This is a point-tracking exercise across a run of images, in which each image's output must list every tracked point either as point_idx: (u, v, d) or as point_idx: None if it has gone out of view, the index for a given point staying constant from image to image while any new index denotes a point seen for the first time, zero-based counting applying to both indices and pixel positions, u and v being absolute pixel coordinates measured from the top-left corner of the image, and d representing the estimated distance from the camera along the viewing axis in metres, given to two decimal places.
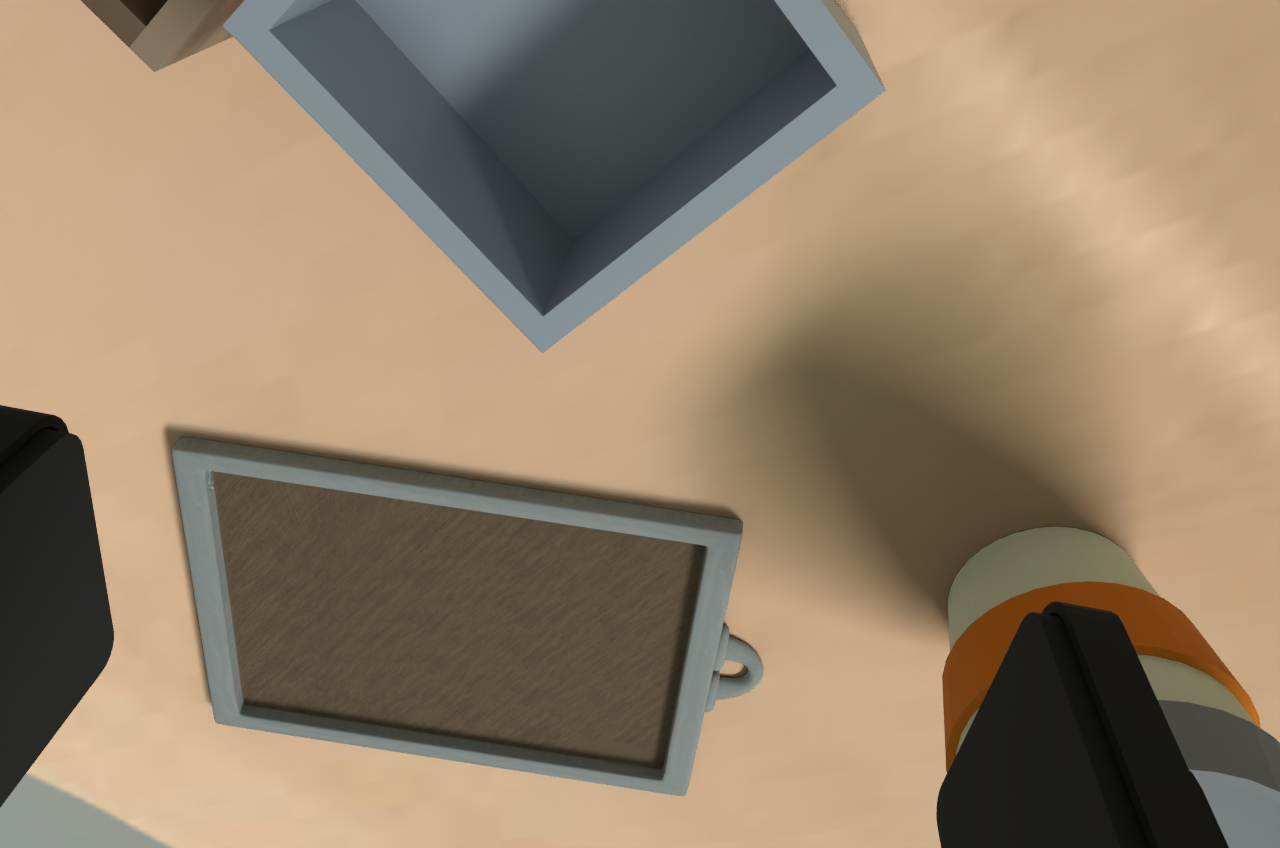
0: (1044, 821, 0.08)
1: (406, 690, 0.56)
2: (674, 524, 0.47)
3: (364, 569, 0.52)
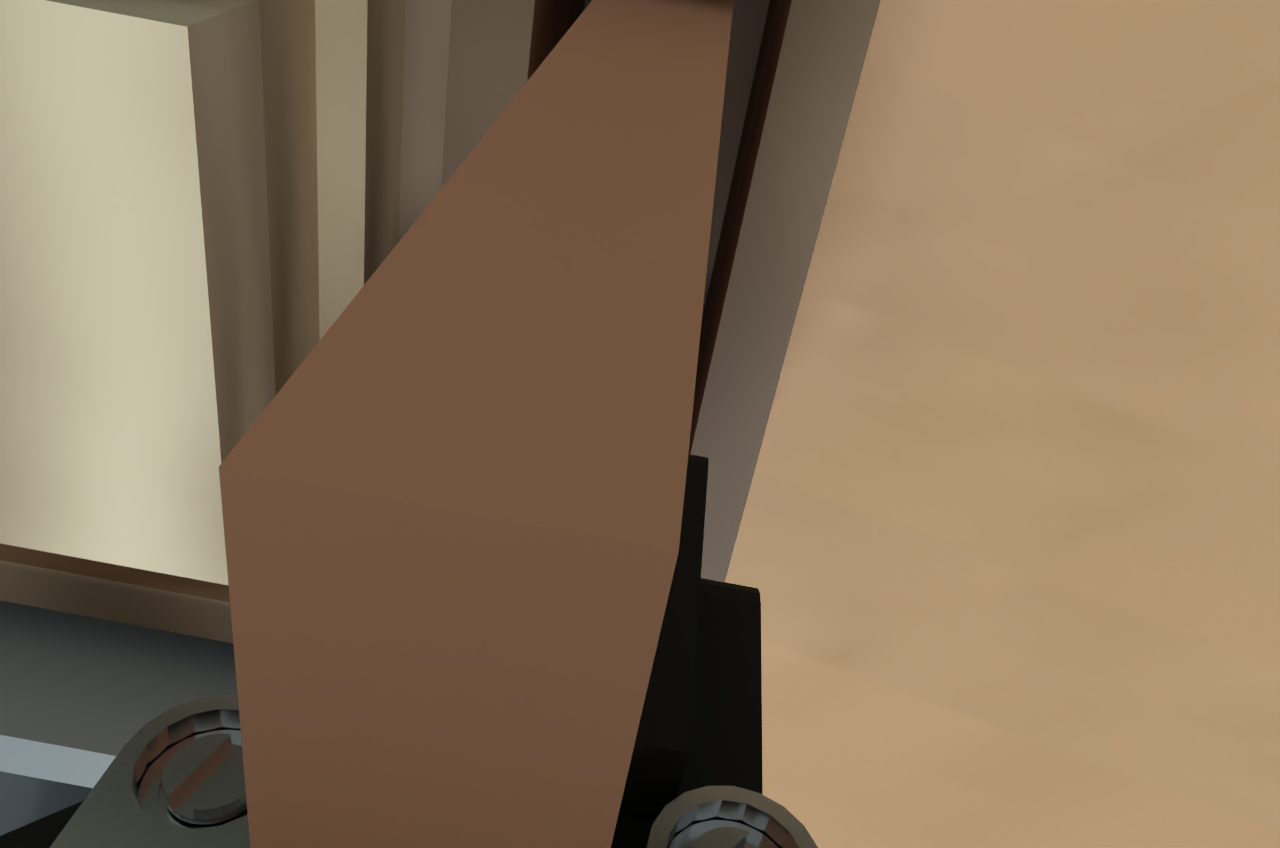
0: None
1: None
2: None
3: None
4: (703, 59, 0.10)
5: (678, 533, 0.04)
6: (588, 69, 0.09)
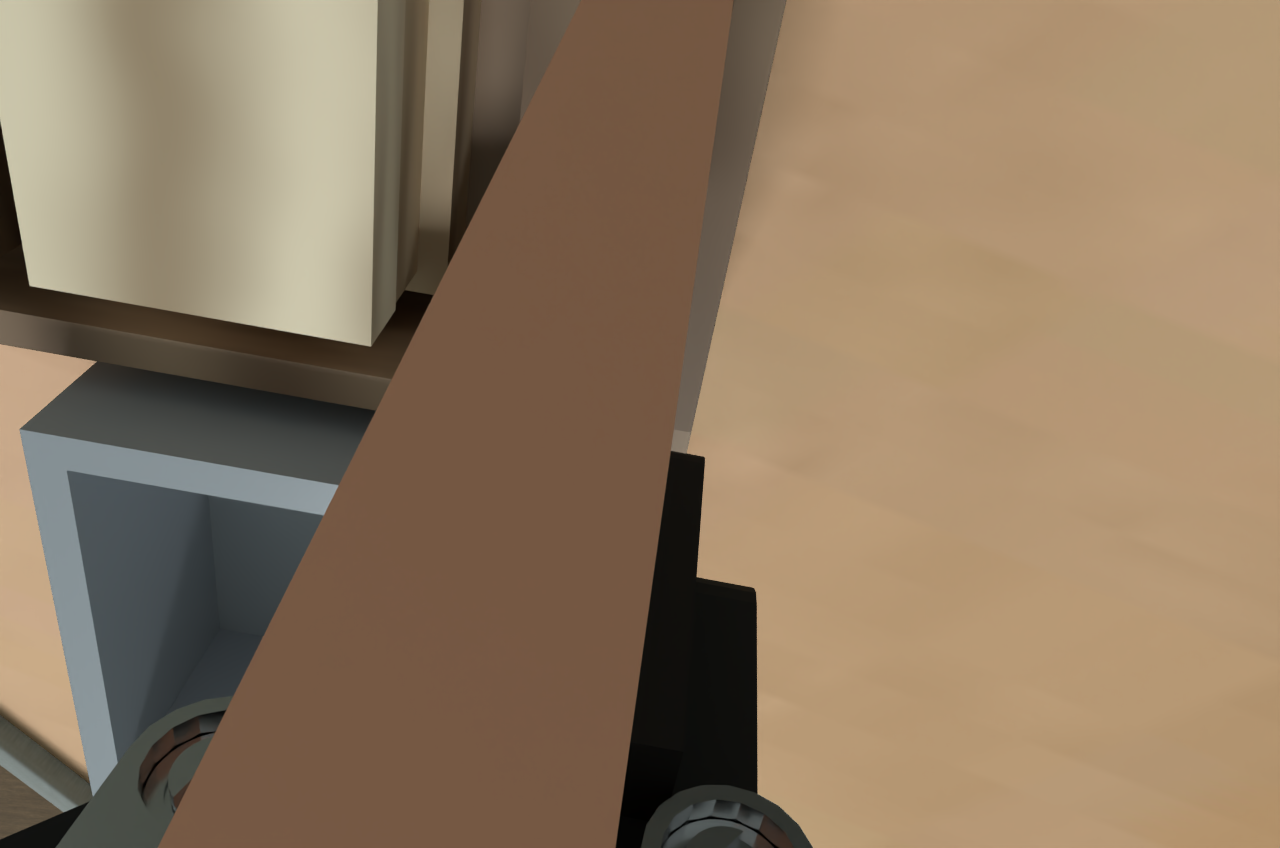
0: None
1: None
2: None
3: None
4: (687, 130, 0.09)
5: None
6: (550, 173, 0.08)
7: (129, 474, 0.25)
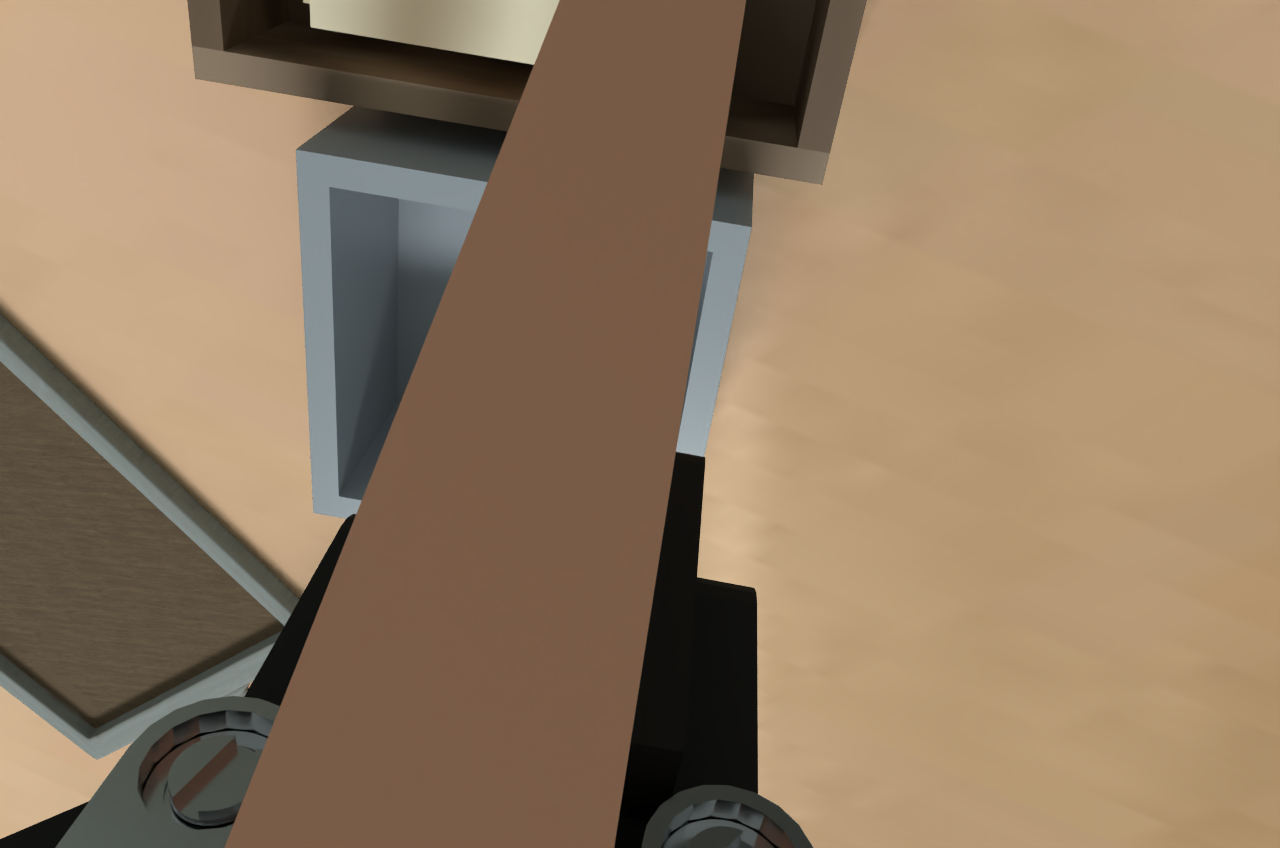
0: None
1: None
2: (280, 603, 0.51)
3: None
4: (686, 175, 0.07)
5: None
6: (521, 257, 0.07)
7: (379, 189, 0.31)
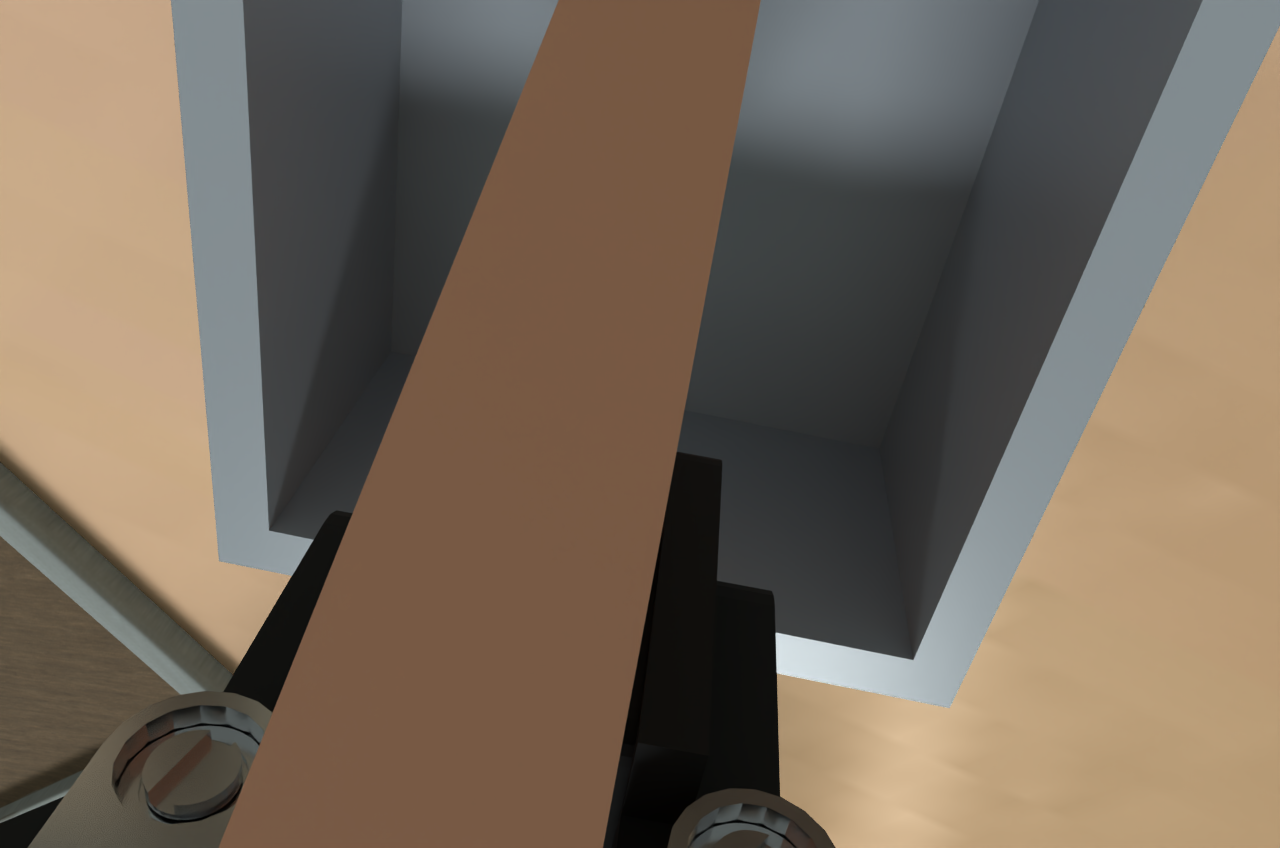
0: None
1: None
2: (195, 679, 0.32)
3: None
4: (682, 228, 0.07)
5: None
6: (496, 330, 0.06)
7: None
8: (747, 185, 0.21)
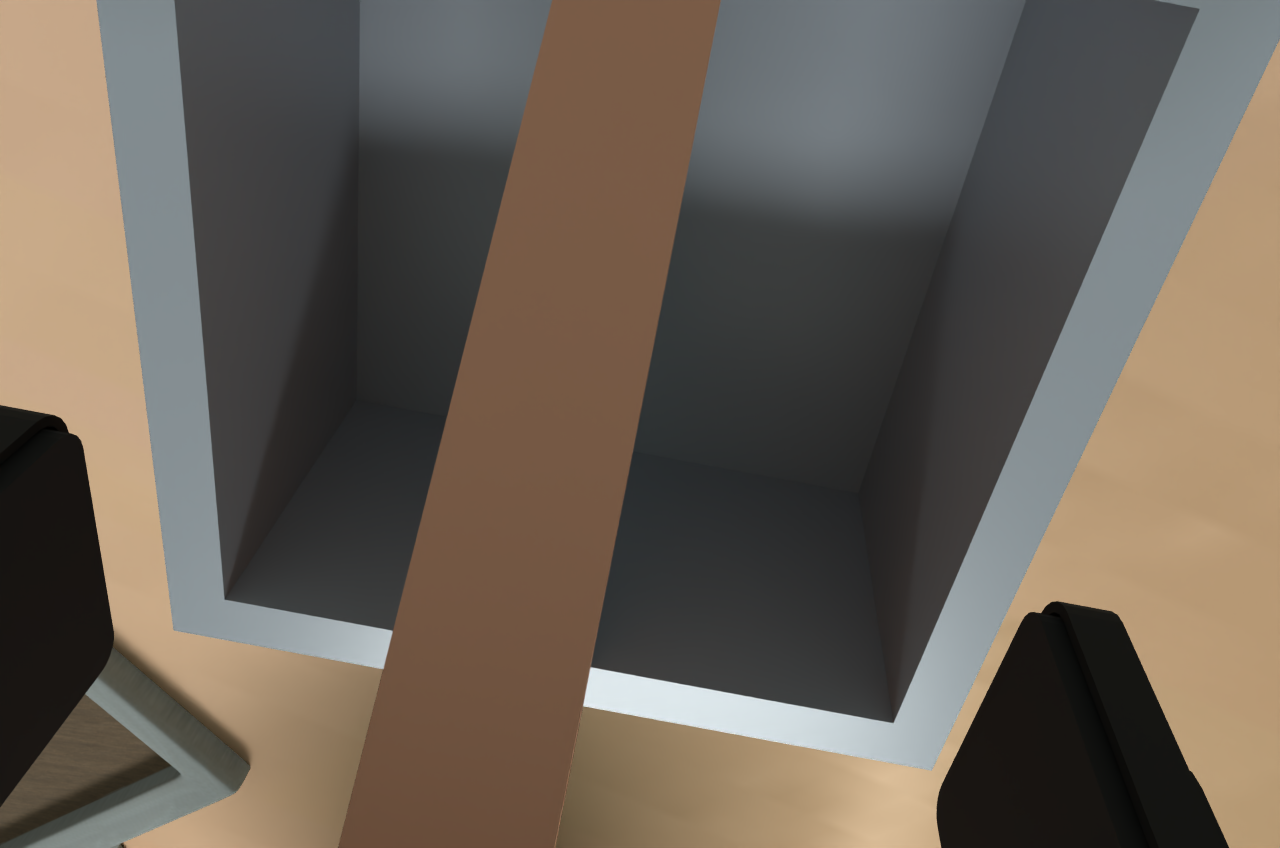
0: (1044, 821, 0.08)
1: None
2: (163, 730, 0.31)
3: None
4: (583, 552, 0.08)
5: None
6: (433, 676, 0.08)
7: None
8: (717, 230, 0.21)
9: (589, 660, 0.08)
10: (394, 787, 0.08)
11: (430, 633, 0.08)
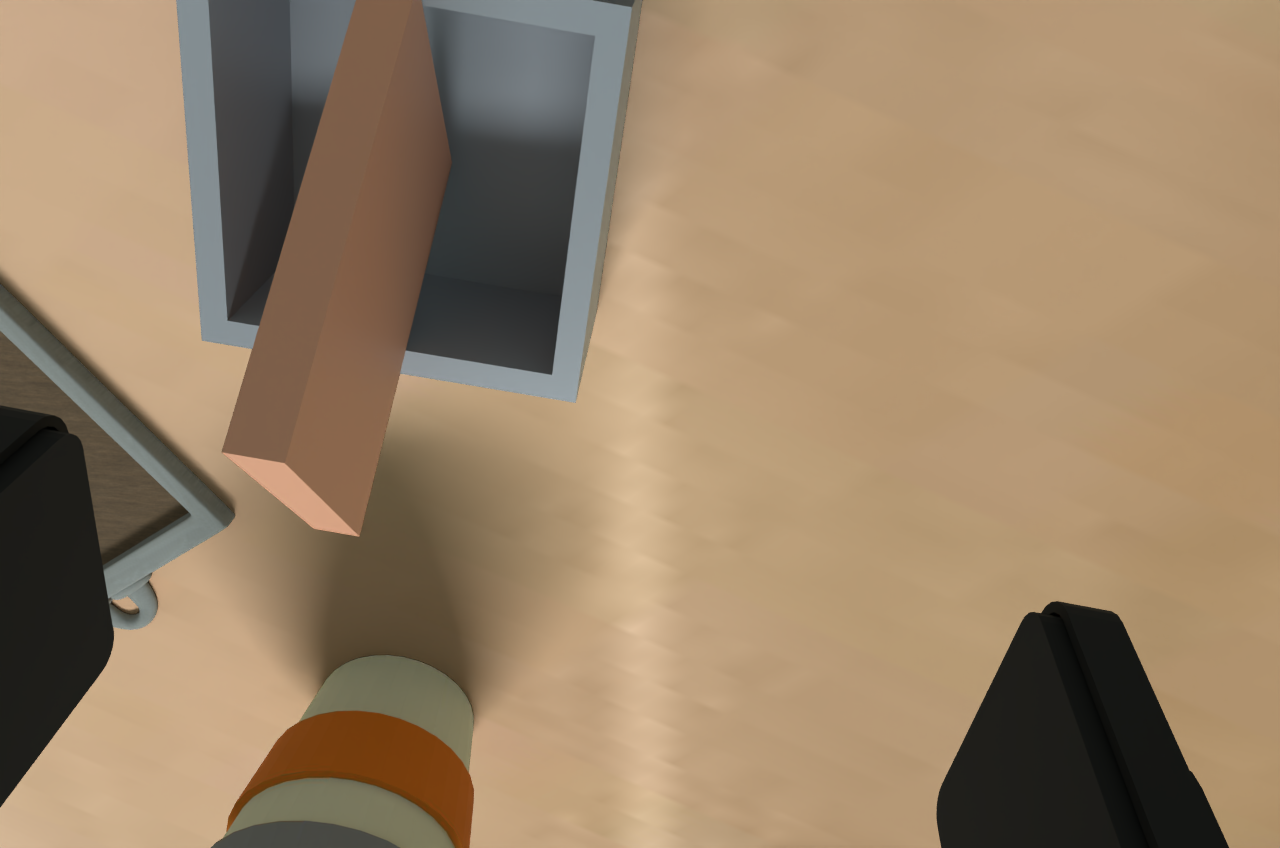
0: (1044, 821, 0.08)
1: None
2: (180, 482, 0.50)
3: None
4: (348, 201, 0.28)
5: (284, 460, 0.25)
6: (302, 233, 0.27)
7: None
8: (479, 149, 0.40)
9: (348, 229, 0.27)
10: (290, 261, 0.27)
11: (301, 222, 0.27)
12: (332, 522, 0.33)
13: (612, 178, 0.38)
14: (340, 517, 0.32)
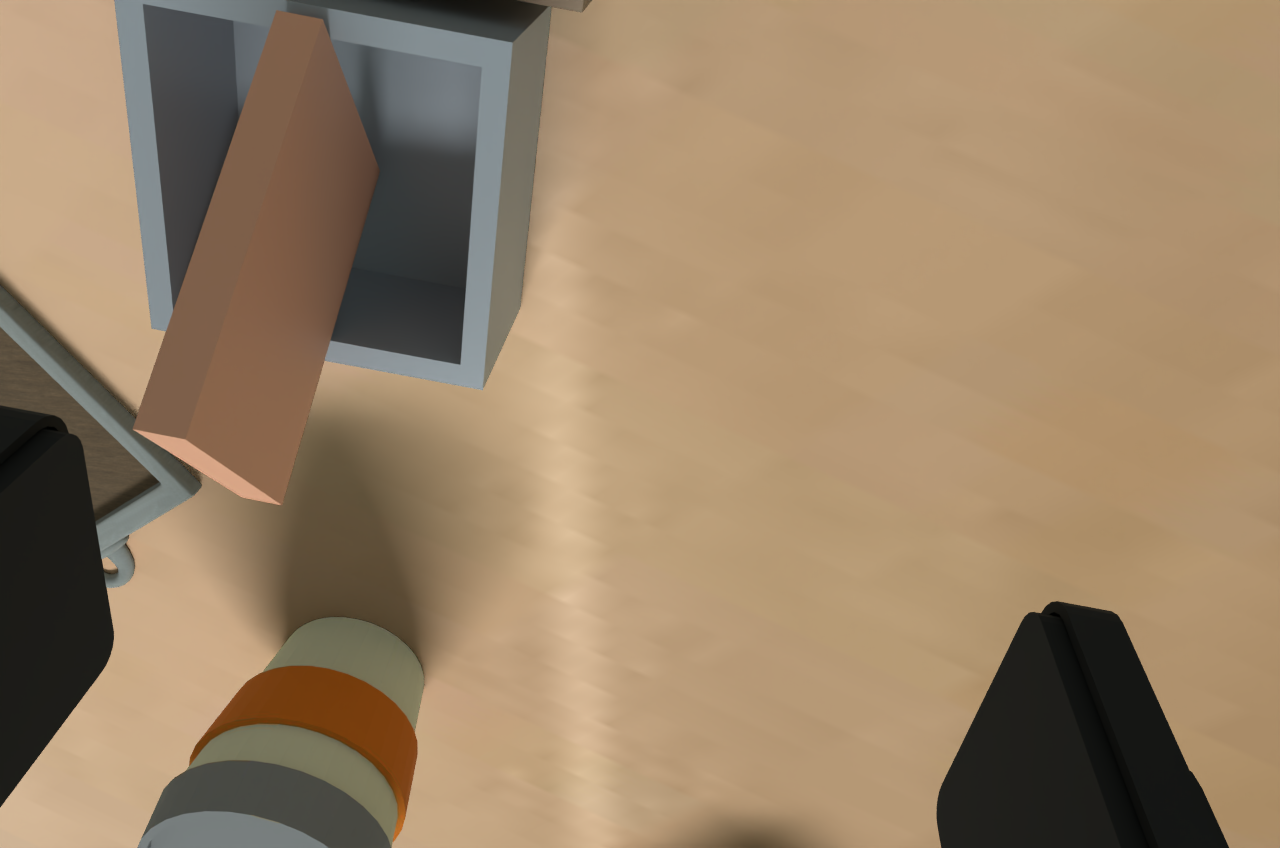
0: (1044, 821, 0.08)
1: None
2: (150, 454, 0.55)
3: None
4: (251, 214, 0.32)
5: (185, 437, 0.30)
6: (210, 242, 0.32)
7: (186, 6, 0.35)
8: (406, 158, 0.44)
9: (250, 239, 0.32)
10: (198, 266, 0.31)
11: (210, 232, 0.32)
12: (252, 492, 0.38)
13: (518, 188, 0.42)
14: (256, 487, 0.37)
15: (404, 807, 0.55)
